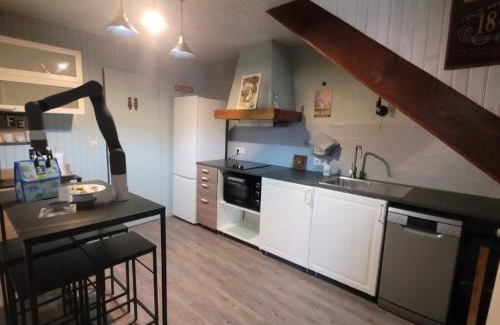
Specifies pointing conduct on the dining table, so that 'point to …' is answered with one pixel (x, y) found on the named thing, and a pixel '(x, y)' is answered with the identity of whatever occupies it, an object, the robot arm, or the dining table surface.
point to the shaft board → (57, 211)
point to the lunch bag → (36, 180)
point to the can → (65, 192)
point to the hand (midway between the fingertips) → (42, 167)
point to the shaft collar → (57, 207)
